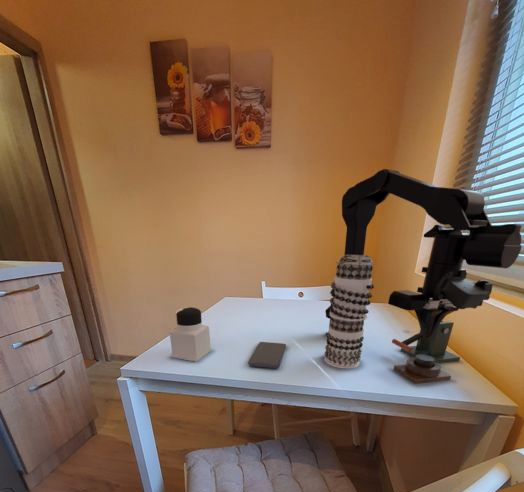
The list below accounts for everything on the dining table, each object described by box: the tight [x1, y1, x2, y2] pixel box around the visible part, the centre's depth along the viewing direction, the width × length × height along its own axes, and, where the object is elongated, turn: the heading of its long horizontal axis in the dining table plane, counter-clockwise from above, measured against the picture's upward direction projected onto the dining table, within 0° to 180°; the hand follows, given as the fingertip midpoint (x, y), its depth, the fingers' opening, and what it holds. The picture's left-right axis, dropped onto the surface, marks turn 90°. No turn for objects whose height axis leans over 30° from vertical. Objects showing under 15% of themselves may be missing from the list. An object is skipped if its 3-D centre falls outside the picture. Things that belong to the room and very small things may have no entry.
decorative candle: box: [324, 254, 376, 369], centre depth 64 cm, size 9×9×25 cm
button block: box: [393, 357, 452, 385], centre depth 62 cm, size 9×7×3 cm
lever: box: [391, 320, 444, 352], centre depth 69 cm, size 12×6×2 cm, turn 104°
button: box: [414, 354, 435, 368], centre depth 61 cm, size 4×4×2 cm
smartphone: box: [247, 341, 287, 369], centre depth 71 cm, size 8×1×15 cm
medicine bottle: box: [169, 306, 212, 363], centre depth 69 cm, size 7×7×12 cm
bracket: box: [400, 321, 461, 364], centre depth 71 cm, size 10×9×10 cm
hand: (426, 337), depth 61 cm, fingers closed
